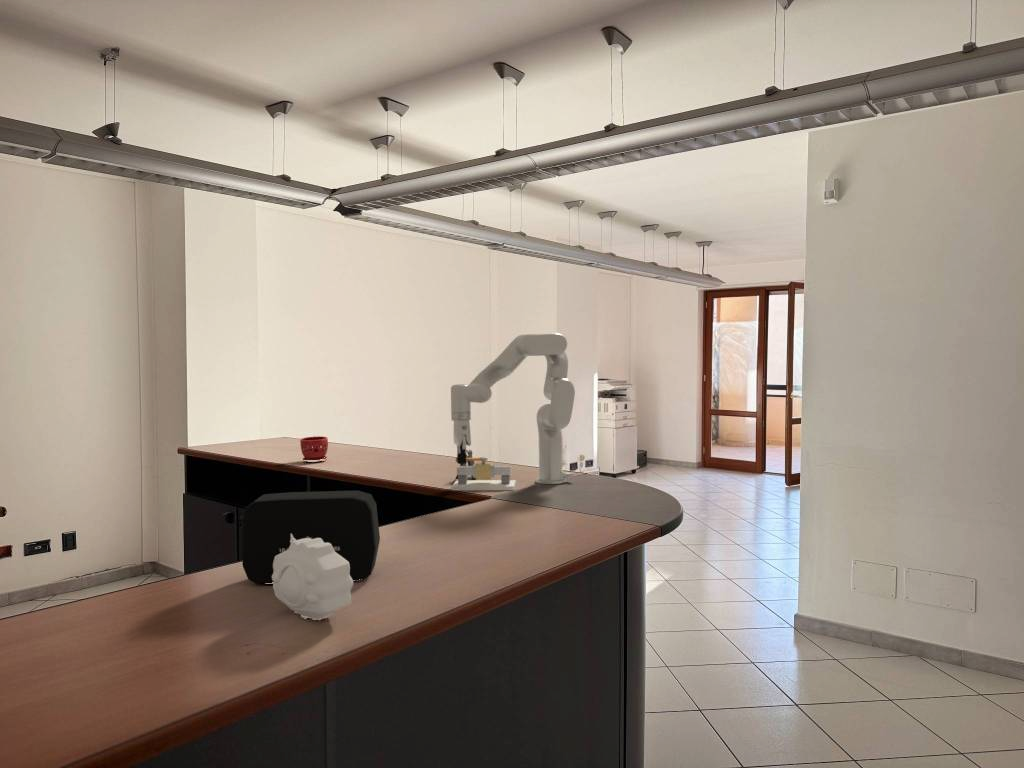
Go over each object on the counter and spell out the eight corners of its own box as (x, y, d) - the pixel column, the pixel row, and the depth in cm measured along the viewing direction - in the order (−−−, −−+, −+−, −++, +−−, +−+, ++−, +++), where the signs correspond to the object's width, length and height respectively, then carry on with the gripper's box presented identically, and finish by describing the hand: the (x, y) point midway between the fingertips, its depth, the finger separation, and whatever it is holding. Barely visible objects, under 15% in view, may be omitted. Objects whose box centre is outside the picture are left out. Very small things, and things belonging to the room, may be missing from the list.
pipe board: (515, 483, 284) (515, 472, 283) (513, 490, 271) (513, 478, 271) (456, 484, 285) (456, 472, 285) (451, 490, 272) (451, 478, 272)
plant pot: (299, 461, 354) (298, 437, 354) (325, 459, 360) (325, 435, 359) (303, 464, 343) (302, 440, 342) (330, 462, 348) (329, 438, 348)
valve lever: (487, 460, 279) (487, 456, 279) (487, 461, 276) (487, 457, 276) (456, 461, 279) (455, 456, 279) (455, 462, 276) (455, 458, 276)
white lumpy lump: (306, 600, 152) (304, 527, 151) (362, 619, 141) (360, 539, 140) (261, 616, 143) (258, 538, 142) (316, 637, 132) (313, 552, 131)
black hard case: (242, 587, 161) (239, 500, 160) (257, 571, 173) (255, 490, 172) (376, 582, 163) (374, 496, 162) (382, 566, 175) (380, 486, 174)
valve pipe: (511, 476, 280) (511, 460, 280) (510, 479, 274) (510, 462, 274) (458, 476, 282) (458, 460, 281) (456, 479, 276) (456, 462, 275)
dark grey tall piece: (479, 478, 299) (479, 449, 298) (476, 480, 293) (475, 451, 292) (459, 477, 300) (458, 449, 300) (455, 480, 295) (454, 451, 294)
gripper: (475, 417, 267) (476, 465, 268) (465, 414, 282) (466, 460, 282) (455, 418, 265) (456, 466, 266) (447, 415, 279) (448, 461, 280)
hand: (461, 463), depth 274 cm, fingers closed
